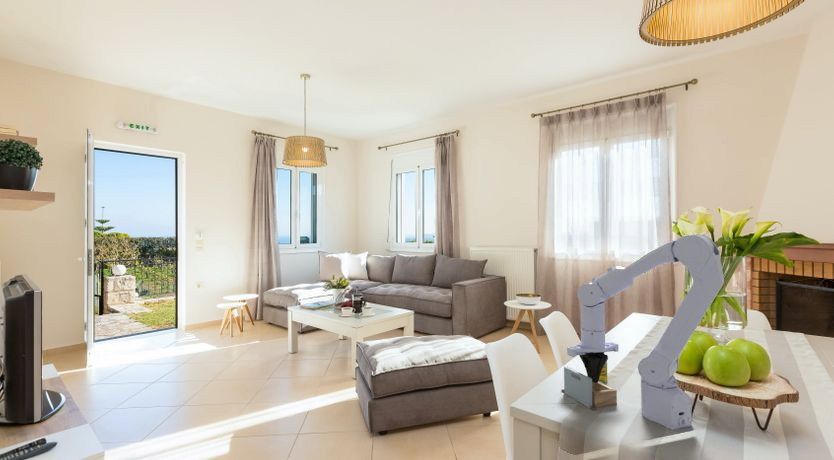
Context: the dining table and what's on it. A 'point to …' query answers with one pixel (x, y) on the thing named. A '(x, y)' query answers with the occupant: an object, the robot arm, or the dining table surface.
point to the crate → (602, 395)
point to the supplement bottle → (603, 374)
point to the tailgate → (578, 386)
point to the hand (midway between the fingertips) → (593, 381)
